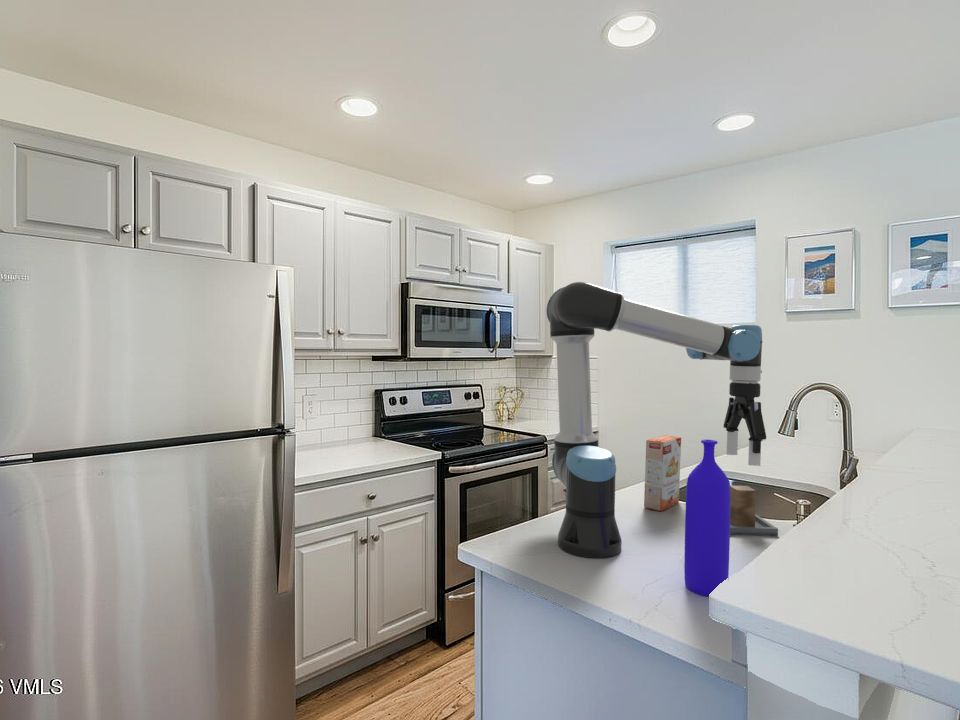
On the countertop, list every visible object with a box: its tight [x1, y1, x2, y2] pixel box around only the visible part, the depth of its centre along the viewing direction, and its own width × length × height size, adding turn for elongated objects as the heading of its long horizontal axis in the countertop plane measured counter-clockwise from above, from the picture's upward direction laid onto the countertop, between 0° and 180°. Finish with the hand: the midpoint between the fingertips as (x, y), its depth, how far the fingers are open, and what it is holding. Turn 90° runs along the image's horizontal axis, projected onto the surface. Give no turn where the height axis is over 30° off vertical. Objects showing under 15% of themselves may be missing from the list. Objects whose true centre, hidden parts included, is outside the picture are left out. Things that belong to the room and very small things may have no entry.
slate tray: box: [730, 513, 779, 537], centre depth 144 cm, size 13×13×2 cm
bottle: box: [683, 439, 731, 598], centre depth 106 cm, size 8×8×30 cm
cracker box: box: [643, 434, 682, 512], centre depth 163 cm, size 14×6×21 cm, turn 138°
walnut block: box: [730, 484, 757, 527], centre depth 144 cm, size 5×5×10 cm
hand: (742, 459), depth 144 cm, fingers open, 13 cm apart
